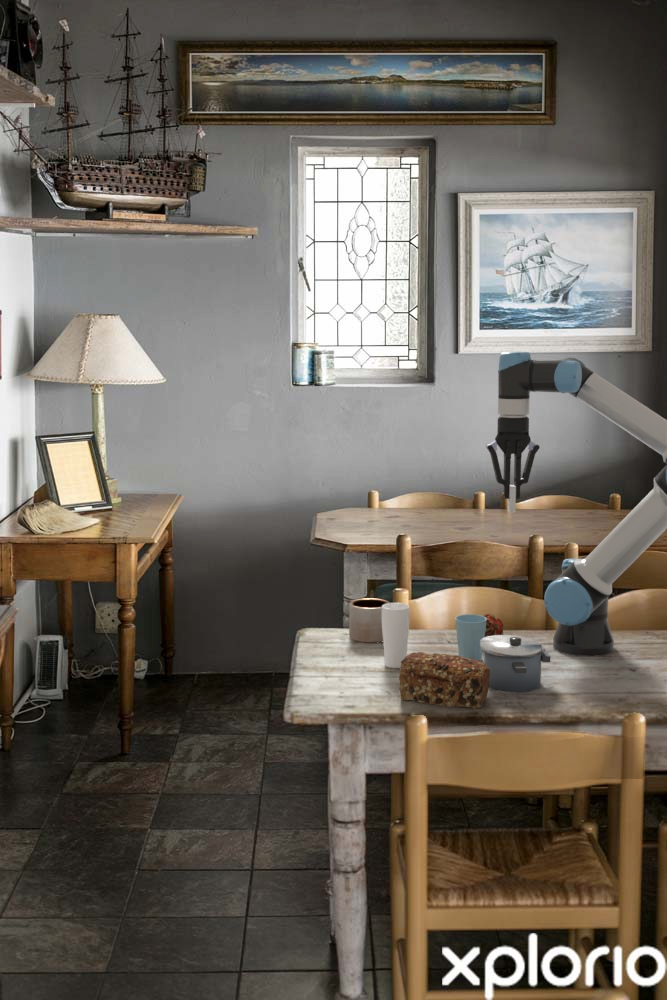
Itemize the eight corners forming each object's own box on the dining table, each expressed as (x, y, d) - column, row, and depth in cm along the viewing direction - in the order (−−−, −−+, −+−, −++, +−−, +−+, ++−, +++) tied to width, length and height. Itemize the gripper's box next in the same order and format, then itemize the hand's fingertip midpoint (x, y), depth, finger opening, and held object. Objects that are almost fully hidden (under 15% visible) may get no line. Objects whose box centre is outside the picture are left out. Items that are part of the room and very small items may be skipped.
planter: (391, 644, 291) (391, 608, 289) (349, 644, 291) (349, 608, 289) (389, 632, 301) (389, 597, 300) (349, 632, 302) (349, 598, 300)
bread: (397, 702, 248) (397, 658, 246) (410, 687, 257) (411, 645, 256) (480, 711, 241) (481, 667, 240) (491, 696, 251) (491, 653, 249)
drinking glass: (407, 670, 269) (407, 610, 266) (379, 669, 270) (379, 608, 268) (411, 662, 275) (411, 603, 273) (383, 660, 276) (383, 601, 274)
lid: (536, 640, 265) (537, 631, 265) (549, 658, 251) (549, 648, 251) (475, 639, 265) (476, 629, 264) (484, 656, 251) (485, 646, 250)
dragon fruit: (490, 657, 284) (479, 650, 296) (516, 636, 285) (504, 630, 297) (470, 631, 284) (459, 625, 295) (496, 610, 284) (485, 605, 296)
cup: (454, 662, 275) (454, 621, 273) (455, 653, 282) (455, 613, 280) (485, 664, 274) (486, 622, 272) (485, 654, 281) (486, 614, 279)
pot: (537, 668, 270) (538, 636, 268) (556, 698, 249) (557, 663, 248) (477, 669, 270) (477, 637, 268) (491, 699, 249) (491, 664, 247)
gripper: (537, 414, 275) (534, 509, 279) (484, 414, 275) (482, 509, 279) (543, 417, 268) (540, 514, 271) (488, 417, 267) (487, 514, 271)
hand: (511, 511), depth 275 cm, fingers closed
